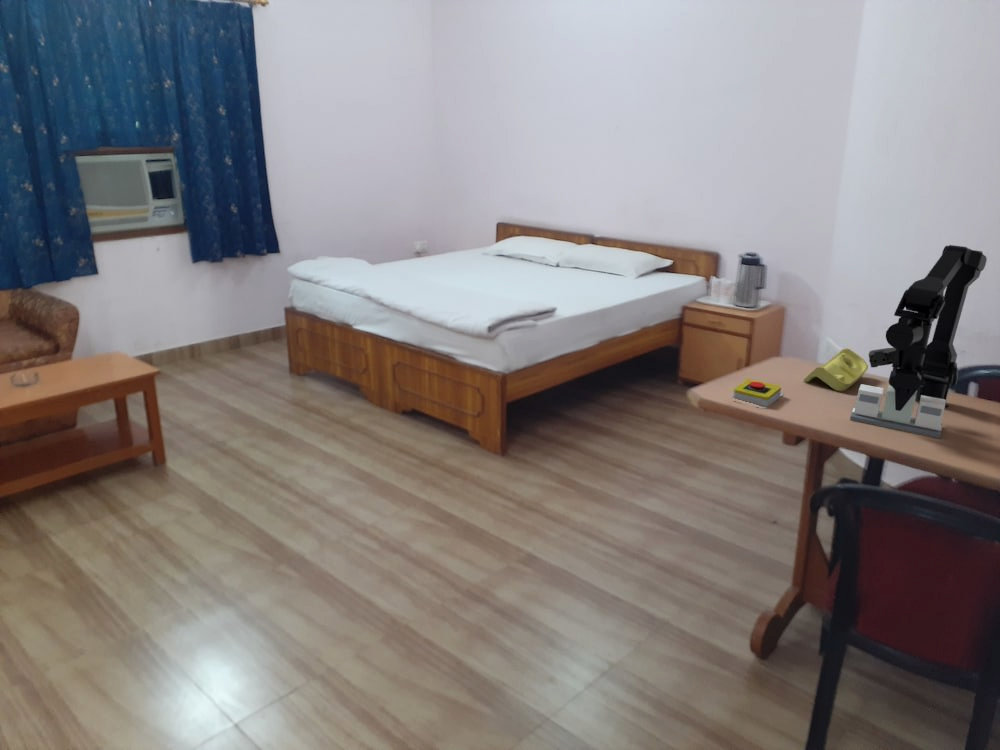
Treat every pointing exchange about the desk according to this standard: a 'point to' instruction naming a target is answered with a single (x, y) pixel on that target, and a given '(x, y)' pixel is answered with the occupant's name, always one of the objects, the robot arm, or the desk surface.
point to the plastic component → (840, 370)
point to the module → (896, 415)
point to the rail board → (870, 414)
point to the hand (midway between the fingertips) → (899, 404)
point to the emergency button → (757, 393)
